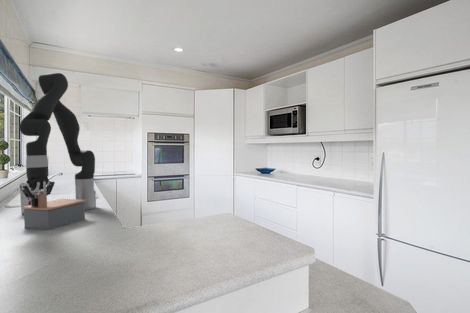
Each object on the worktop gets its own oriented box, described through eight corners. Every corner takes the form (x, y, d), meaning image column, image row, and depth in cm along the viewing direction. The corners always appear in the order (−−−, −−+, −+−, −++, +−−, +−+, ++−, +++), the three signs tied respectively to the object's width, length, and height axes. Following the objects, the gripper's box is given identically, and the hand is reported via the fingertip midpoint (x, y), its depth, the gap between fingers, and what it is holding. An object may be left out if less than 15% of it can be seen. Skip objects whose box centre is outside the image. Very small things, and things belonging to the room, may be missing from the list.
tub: (63, 217, 131) (62, 201, 130) (84, 218, 126) (84, 202, 126) (24, 227, 113) (23, 209, 113) (48, 230, 109) (47, 211, 109)
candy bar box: (36, 209, 151) (35, 180, 150) (45, 209, 150) (44, 180, 150) (20, 213, 139) (19, 183, 139) (29, 213, 139) (28, 183, 139)
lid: (62, 203, 131) (62, 187, 131) (86, 204, 127) (85, 188, 126) (22, 212, 113) (21, 194, 113) (48, 214, 108) (47, 195, 108)
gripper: (46, 165, 120) (48, 202, 120) (13, 167, 106) (15, 209, 107) (59, 165, 117) (60, 203, 118) (26, 167, 104) (28, 210, 105)
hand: (39, 206), depth 112 cm, fingers closed on lid, 2 cm apart
